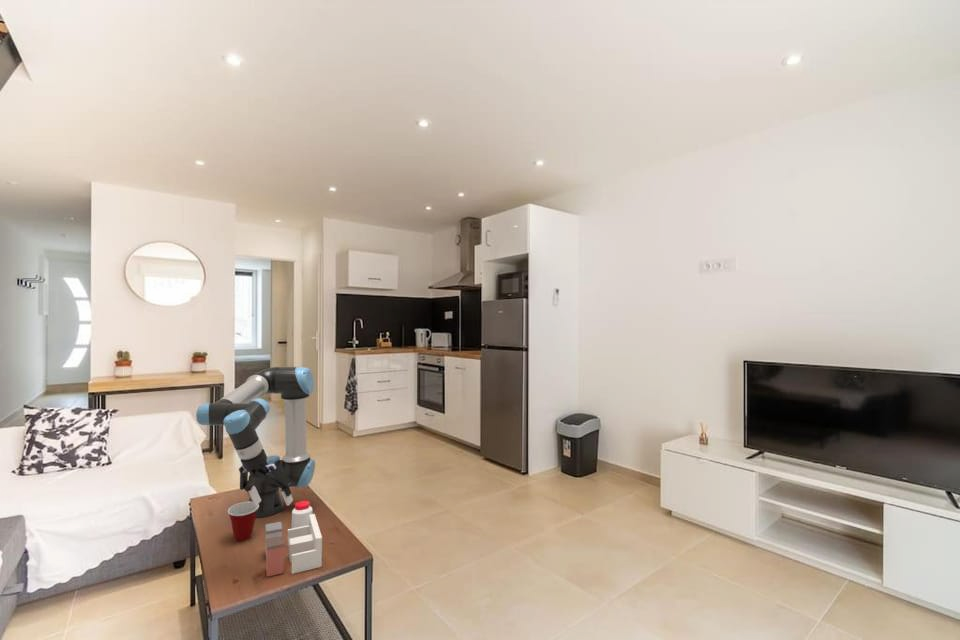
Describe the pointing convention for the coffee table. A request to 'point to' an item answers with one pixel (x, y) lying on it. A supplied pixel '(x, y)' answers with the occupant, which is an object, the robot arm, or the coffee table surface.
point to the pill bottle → (301, 514)
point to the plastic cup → (243, 519)
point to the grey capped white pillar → (273, 530)
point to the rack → (305, 546)
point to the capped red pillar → (274, 555)
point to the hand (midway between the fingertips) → (274, 503)
